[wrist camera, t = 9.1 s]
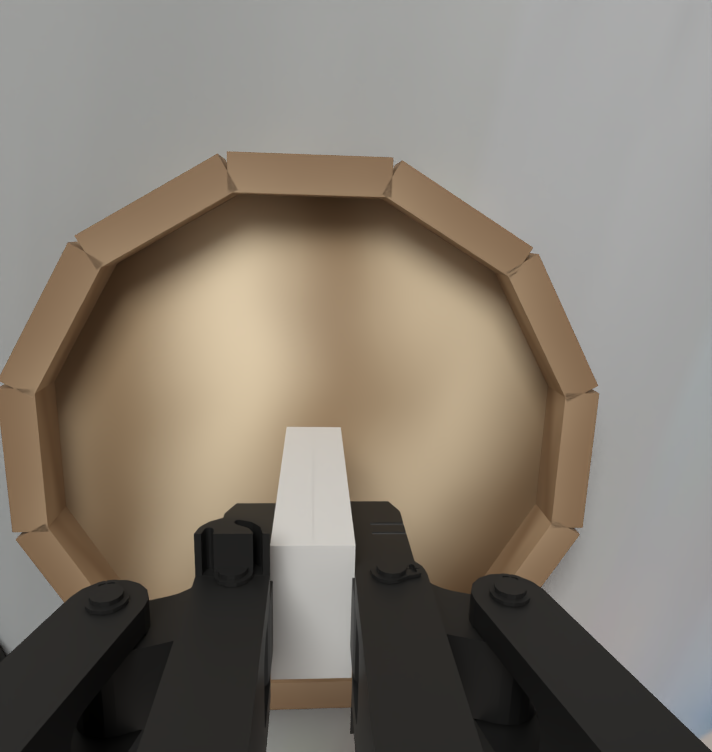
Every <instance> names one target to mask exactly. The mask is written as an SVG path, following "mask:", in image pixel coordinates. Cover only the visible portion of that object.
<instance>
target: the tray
mask: <svg viewBox="0 0 712 752" xmlns="http://www.w3.org/2000/svg"><path fill="white" fill-rule="evenodd" d="M75 237H76V239H77V240H78V242H68V243H67V245H66V247H65V249H64V251H63V253H62V255H61V257H60V259H59V261H58V263H57V265H56V267H55V269H54V271H53V273H52V275H51V277H50V279H49V281H48V283H47V285H46V287H45V288H44V290H43V292H42V294H41V296H40V298H39V300H38V302H37V304H36V306H35V308H34V310H33V312H32V314H31V316H30V318H29V320H28V322H27V324H26V326H25V328H24V330H23V332H22V334H21V336H20V337H19V339H18V341H17V343H16V345H15V347H14V349H13V351H12V353H11V355H10V357H9V359H8V361H7V363H6V365H5V367H4V369H3V371H2V373H1V375H0V382H2V383H4V385H2V386H0V426H1V434H2V443H3V452H4V461H5V470H6V479H7V488H8V496H9V505H10V514H11V523H12V532H22V533H21V534H20V535H19V536H18V538H17V539H16V541H17V542H18V543H19V545H20V546H21V547H22V548H23V550H24V551H25V552H26V554H27V555H28V556H29V557H30V559H31V560H32V561H33V563H34V564H35V565H36V567H37V568H38V569H39V570H40V572H41V573H42V574H43V576H44V577H45V578H46V579H47V581H48V582H49V583H50V585H51V586H52V587H53V588H54V590H55V591H56V592H57V594H58V595H59V596H60V597H61V599H62V600H63V601H64V603H65V602H66V601H67V600H68V599H69V598H70V597H71V596H73V595H74V594H75V593H77V592H78V591H80V590H81V589H83V588H85V587H88V586H91V585H93V584H96V583H98V582H102V581H107V580H130V581H133V582H137V583H140V584H141V585H142V586H144V587H145V588H146V589H147V591H148V596H149V600H153V599H157V598H162V597H167V596H171V595H175V594H178V593H181V592H183V591H185V590H188V589H190V588H191V587H192V585H193V582H194V579H195V555H194V533H195V532H196V531H197V529H198V528H199V527H200V526H202V525H204V524H206V523H208V522H210V521H213V520H217V519H220V518H223V517H224V514H225V513H226V512H227V511H228V510H229V509H230V508H232V507H233V506H234V505H235V504H236V503H276V500H277V493H278V485H279V478H280V471H281V464H282V457H283V449H284V442H285V435H286V428H287V427H341V434H342V442H343V450H344V458H345V466H346V474H347V482H348V490H349V498H350V501H388V502H390V503H391V504H392V505H393V506H394V507H396V508H397V509H398V510H399V511H400V513H401V517H402V520H403V525H404V527H405V530H406V534H407V537H408V541H409V544H410V547H411V551H412V554H413V558H414V561H415V562H417V563H418V564H420V565H422V566H423V568H424V569H425V571H426V572H427V574H428V577H429V580H430V583H432V584H434V585H436V586H439V587H441V588H444V589H448V590H452V591H456V592H462V593H467V594H471V588H472V584H473V583H474V582H475V581H476V580H477V579H478V578H480V577H483V576H486V575H489V574H501V573H505V574H510V575H511V574H513V575H517V576H520V577H522V578H525V579H527V580H530V581H532V582H534V583H535V584H536V585H538V586H539V587H541V586H542V585H543V584H544V582H545V581H546V580H547V578H548V577H549V576H550V574H551V573H552V571H553V570H554V569H555V567H556V566H557V565H558V563H559V562H560V561H561V559H562V558H563V556H564V555H565V554H566V552H567V551H568V550H569V548H570V547H571V546H572V544H573V543H574V542H575V540H576V539H577V537H578V536H579V535H580V534H579V533H578V532H577V531H576V530H575V529H574V528H582V527H583V519H584V511H585V503H586V495H587V487H588V479H589V471H590V463H591V455H592V447H593V439H594V431H595V423H596V415H597V407H598V399H599V393H597V392H596V391H594V390H592V389H593V388H595V387H597V386H598V384H597V382H596V380H595V378H594V376H593V373H592V371H591V369H590V367H589V365H588V362H587V360H586V358H585V356H584V353H583V351H582V349H581V347H580V345H579V342H578V340H577V338H576V336H575V334H574V331H573V329H572V327H571V325H570V322H569V320H568V318H567V316H566V314H565V311H564V309H563V307H562V305H561V303H560V300H559V298H558V296H557V294H556V291H555V289H554V287H553V285H552V283H551V280H550V278H549V276H548V274H547V272H546V269H545V267H544V265H543V263H542V260H541V258H540V256H539V254H533V253H530V252H531V250H532V249H533V247H531V246H530V245H528V244H527V243H525V242H524V241H522V240H521V239H519V238H518V237H516V236H515V235H513V234H512V233H510V232H509V231H507V230H506V229H504V228H503V227H501V226H500V225H498V224H497V223H495V222H494V221H492V220H491V219H489V218H488V217H486V216H485V215H483V214H482V213H480V212H479V211H477V210H476V209H474V208H473V207H471V206H470V205H468V204H467V203H465V202H464V201H462V200H461V199H459V198H458V197H456V196H455V195H453V194H452V193H450V192H449V191H447V190H446V189H444V188H443V187H441V186H440V185H438V184H437V183H435V182H434V181H432V180H431V179H429V178H428V177H426V176H425V175H423V174H422V173H420V172H419V171H417V170H416V169H414V168H413V167H411V166H410V165H408V164H407V163H405V162H404V161H401V162H399V163H398V164H396V165H395V166H394V168H393V158H391V157H364V156H336V155H309V154H282V153H254V152H227V162H226V160H225V159H224V158H223V157H221V156H220V155H219V154H216V155H214V156H213V157H211V158H209V159H207V160H206V161H204V162H202V163H200V164H199V165H197V166H195V167H193V168H192V169H190V170H188V171H186V172H185V173H183V174H181V175H179V176H178V177H176V178H174V179H172V180H171V181H169V182H167V183H165V184H164V185H162V186H160V187H159V188H157V189H155V190H153V191H152V192H150V193H148V194H146V195H145V196H143V197H141V198H139V199H138V200H136V201H134V202H132V203H131V204H129V205H127V206H125V207H124V208H122V209H120V210H118V211H117V212H115V213H113V214H111V215H110V216H108V217H106V218H104V219H103V220H101V221H99V222H97V223H96V224H94V225H92V226H90V227H89V228H87V229H85V230H83V231H82V232H80V233H78V234H77V235H75ZM270 681H271V701H270V710H279V709H313V708H347V707H351V695H352V678H321V679H274V680H271V676H270Z"/></svg>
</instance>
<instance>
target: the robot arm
mask: <svg viewBox="0 0 712 752" xmlns="http://www.w3.org/2000/svg"><path fill="white" fill-rule="evenodd" d="M194 555H195V579H194V582H193V585H192V587H191V588H190V589H188V590H185V591H183V592H181V593H178V594H175V595H171V596H167V597H162V598H157V599H153V600H149V596H148V591H147V589H146V588H145V587H144V586H142V585H141V584H140V583H137V582H133V581H130V580H107V581H102V582H98V583H96V584H93V585H91V586H88V587H85V588H83V589H81V590H80V591H78V592H77V593H75V594H74V595H73V596H71V597H70V598H69V599H68V600H67V601H66V602H65V603H63V604H62V605H61V606H60V607H59V608H58V609H57V610H56V611H55V612H54V613H53V614H52V615H51V616H50V617H48V618H47V619H46V620H45V621H44V622H43V623H42V624H41V625H40V626H39V627H38V628H37V629H36V630H34V631H33V632H32V633H31V634H30V635H29V636H28V637H27V638H26V639H25V640H24V641H23V642H22V643H21V644H19V645H18V646H17V647H16V648H15V649H14V650H13V651H12V652H11V653H10V654H9V655H8V656H7V657H5V658H4V659H3V660H2V661H1V662H0V752H266V746H267V735H268V724H269V712H270V701H271V681H270V676H271V680H274V679H321V678H352V695H351V728H350V734H354V740H355V752H712V751H711V750H710V749H709V748H708V747H707V746H706V745H705V744H704V743H703V742H702V741H700V740H699V739H698V738H697V737H696V736H695V735H694V734H693V733H692V732H691V731H690V730H689V729H688V728H687V727H686V726H685V725H684V724H683V723H682V722H681V721H680V720H679V719H678V718H677V717H675V716H674V715H673V714H672V713H671V712H670V711H669V710H668V709H667V708H666V707H665V706H664V705H663V704H662V703H661V702H660V701H659V700H658V699H657V698H656V697H655V696H654V695H653V694H652V693H651V692H649V691H648V690H647V689H646V688H645V687H644V686H643V685H642V684H641V683H640V682H639V681H638V680H637V679H636V678H635V677H634V676H633V675H632V674H631V673H630V672H629V671H628V670H627V669H626V668H624V667H623V666H622V665H621V664H620V663H619V662H618V661H617V660H616V659H615V658H614V657H613V656H612V655H611V654H610V653H609V652H608V651H607V650H606V649H605V648H604V647H603V646H602V645H601V644H600V643H598V642H597V641H596V640H595V639H594V638H593V637H592V636H591V635H590V634H589V633H588V632H587V631H586V630H585V629H584V628H583V627H582V626H581V625H580V624H579V623H578V622H577V621H576V620H575V619H573V618H572V617H571V616H570V615H569V614H568V613H567V612H566V611H565V610H564V609H563V608H562V607H561V606H560V605H559V604H558V603H557V602H556V601H555V600H554V599H553V598H552V597H551V596H550V595H549V594H547V593H546V592H545V591H544V590H543V589H542V588H541V587H539V586H538V585H536V584H535V583H534V582H532V581H530V580H527V579H525V578H522V577H520V576H517V575H513V574H511V575H510V574H505V573H501V574H489V575H486V576H483V577H480V578H478V579H477V580H476V581H475V582H474V583H473V584H472V588H471V594H467V593H462V592H456V591H452V590H448V589H444V588H441V587H439V586H436V585H434V584H432V583H430V580H429V577H428V574H427V572H426V571H425V569H424V568H423V566H422V565H420V564H418V563H417V562H415V561H414V558H413V554H412V551H411V547H410V544H409V541H408V537H407V534H406V530H405V527H404V525H403V520H402V517H401V513H400V511H399V510H398V509H397V508H396V507H394V506H393V505H392V504H391V503H390V502H388V501H350V498H349V490H348V482H347V474H346V466H345V458H344V450H343V442H342V434H341V427H287V428H286V435H285V442H284V449H283V457H282V464H281V471H280V478H279V485H278V493H277V500H276V503H236V504H235V505H234V506H233V507H232V508H230V509H229V510H228V511H227V512H226V513H225V514H224V517H223V518H220V519H217V520H213V521H210V522H208V523H206V524H204V525H202V526H200V527H199V528H198V529H197V531H196V532H195V533H194Z"/></svg>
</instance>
